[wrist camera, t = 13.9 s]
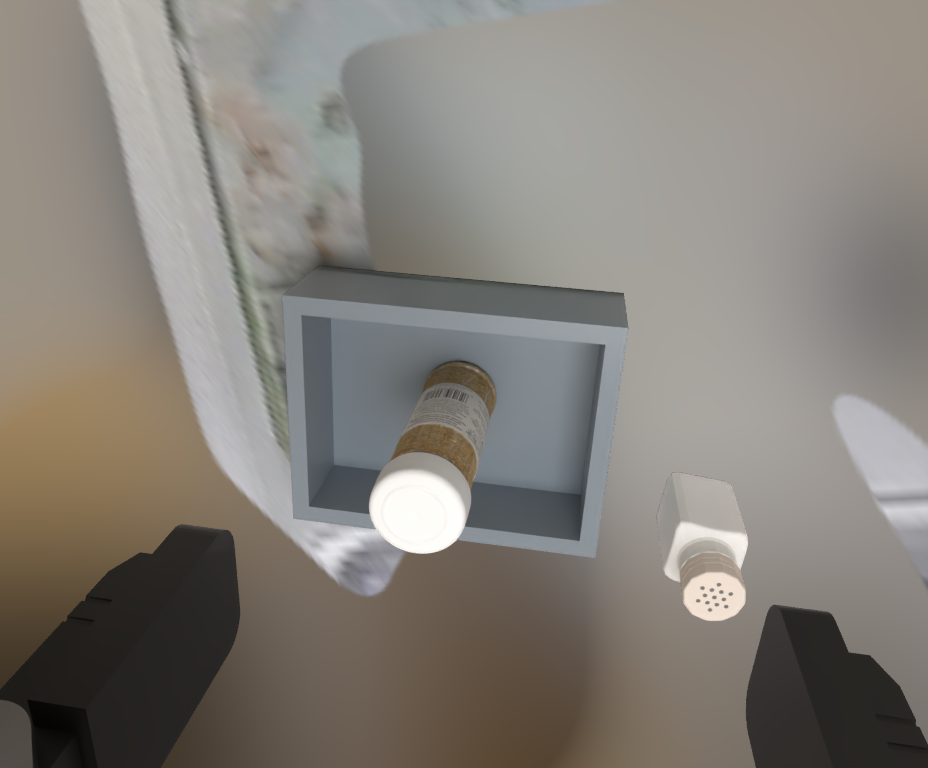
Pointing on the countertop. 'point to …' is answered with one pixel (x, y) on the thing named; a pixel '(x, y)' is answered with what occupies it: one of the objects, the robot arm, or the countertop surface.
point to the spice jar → (435, 462)
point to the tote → (402, 382)
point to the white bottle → (703, 544)
